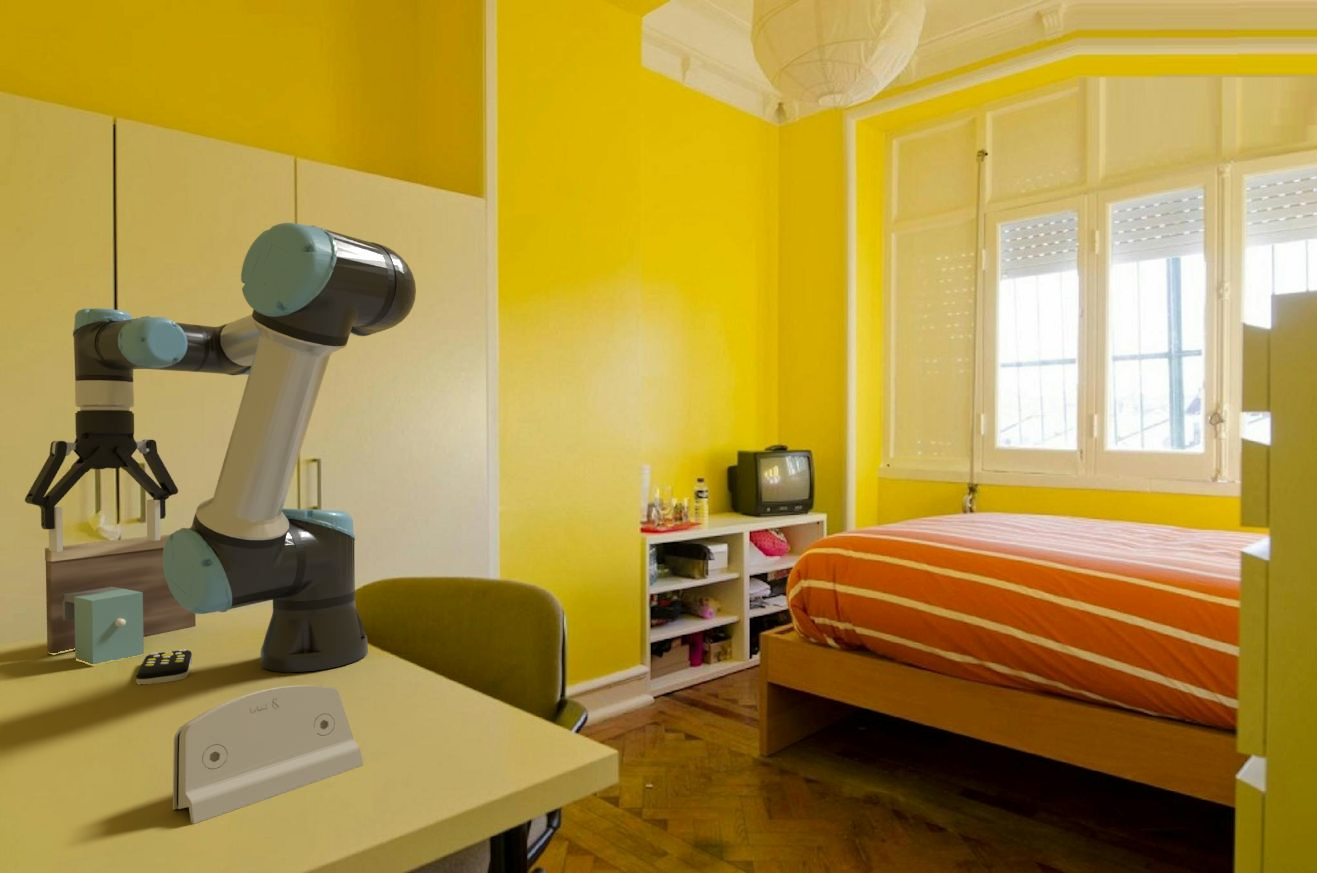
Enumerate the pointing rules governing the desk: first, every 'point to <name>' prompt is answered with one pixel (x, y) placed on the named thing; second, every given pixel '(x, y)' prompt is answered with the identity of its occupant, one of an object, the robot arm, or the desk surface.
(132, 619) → the cabinet
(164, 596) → the wall board
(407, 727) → the desk surface
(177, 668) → the remote control
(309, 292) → the robot arm
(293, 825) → the desk surface
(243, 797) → the grey mounting bracket
